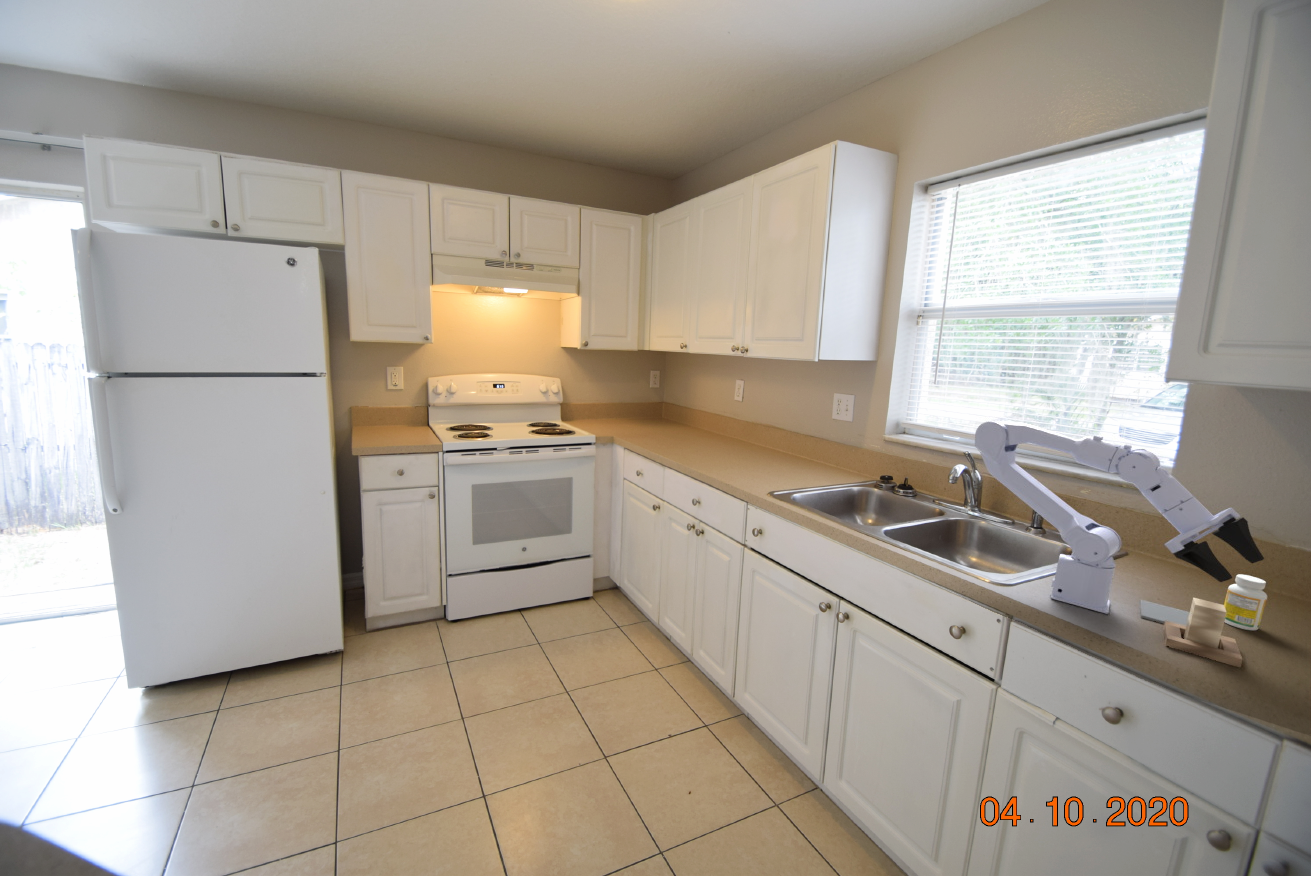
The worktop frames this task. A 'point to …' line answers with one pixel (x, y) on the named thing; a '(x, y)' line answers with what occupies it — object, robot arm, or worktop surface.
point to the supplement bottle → (1245, 602)
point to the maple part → (1205, 622)
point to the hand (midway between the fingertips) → (1242, 570)
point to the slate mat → (1163, 613)
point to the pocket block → (1202, 645)
